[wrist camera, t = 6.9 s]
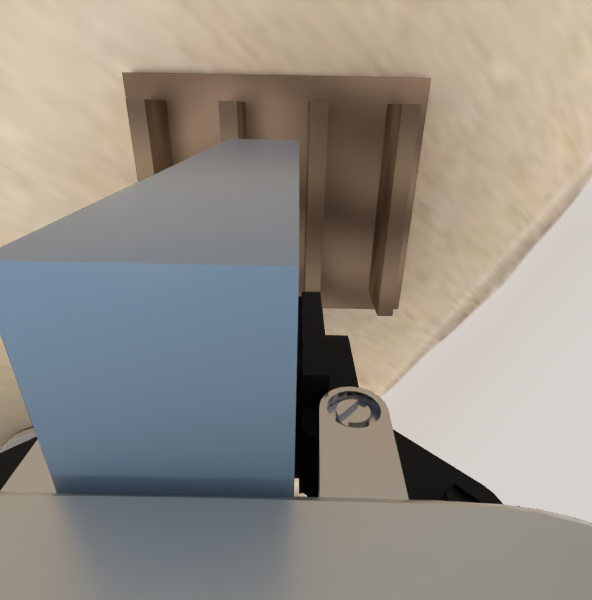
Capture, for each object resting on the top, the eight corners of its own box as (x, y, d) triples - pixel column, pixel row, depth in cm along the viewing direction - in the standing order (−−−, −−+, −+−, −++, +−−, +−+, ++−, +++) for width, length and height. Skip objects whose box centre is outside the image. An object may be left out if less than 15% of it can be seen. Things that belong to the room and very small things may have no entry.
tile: (294, 376, 18) (287, 776, 7) (241, 375, 18) (157, 773, 7) (299, 140, 14) (300, 266, 3) (229, 138, 14) (-26, 260, 3)
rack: (394, 302, 33) (410, 335, 28) (161, 299, 33) (139, 330, 28) (424, 79, 26) (453, 72, 21) (129, 73, 26) (92, 66, 21)
